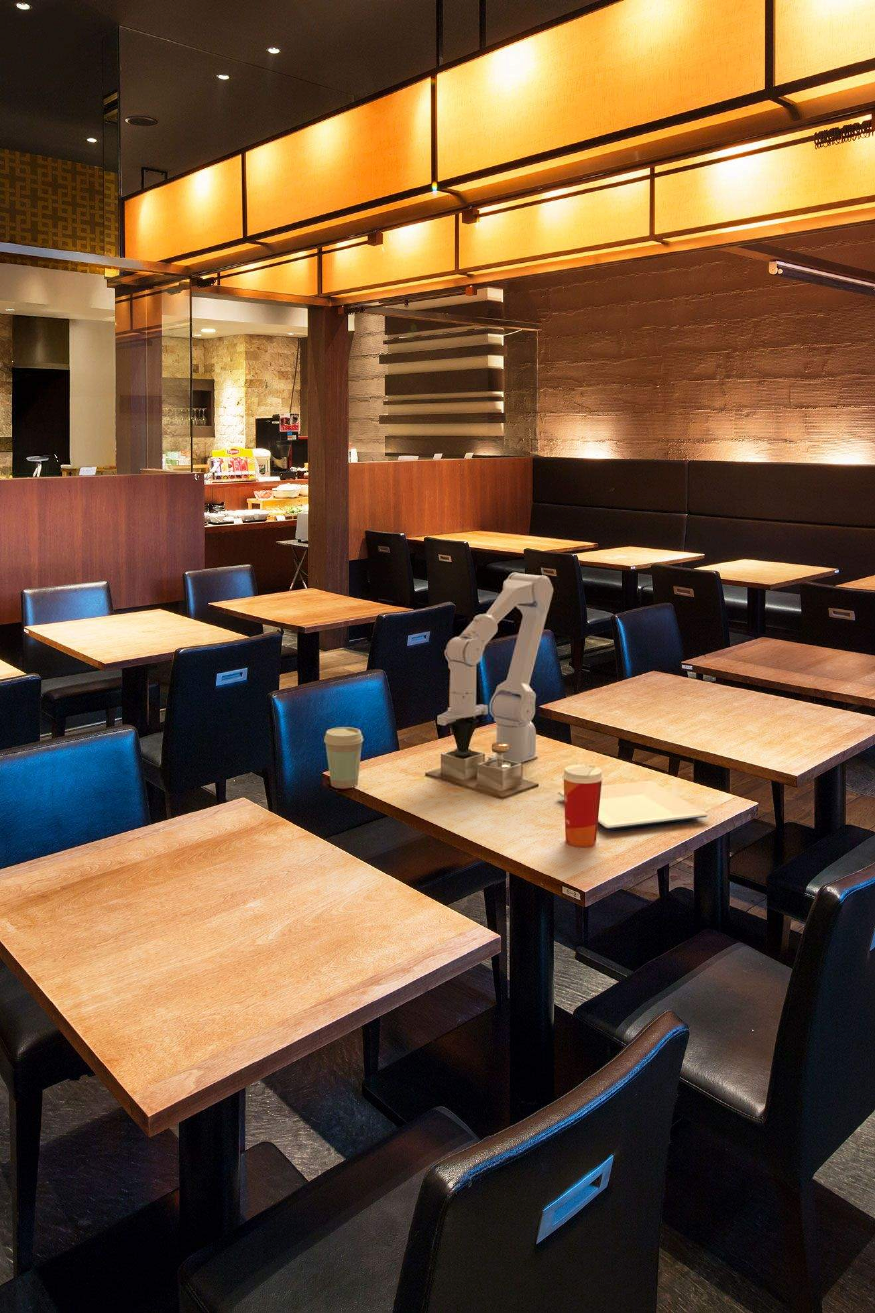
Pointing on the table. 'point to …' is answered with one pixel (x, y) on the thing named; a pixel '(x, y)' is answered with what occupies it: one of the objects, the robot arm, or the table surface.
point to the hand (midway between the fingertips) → (462, 750)
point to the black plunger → (463, 753)
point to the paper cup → (581, 804)
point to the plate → (641, 805)
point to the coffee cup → (343, 755)
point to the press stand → (482, 775)
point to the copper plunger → (500, 755)
